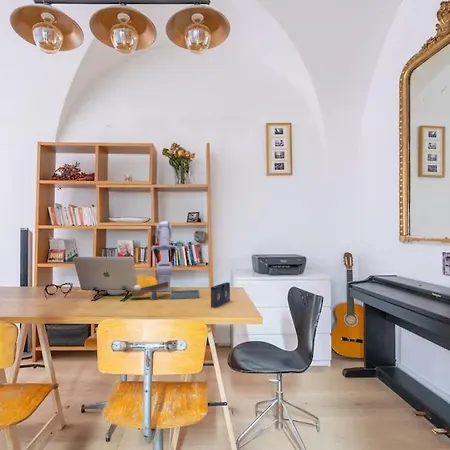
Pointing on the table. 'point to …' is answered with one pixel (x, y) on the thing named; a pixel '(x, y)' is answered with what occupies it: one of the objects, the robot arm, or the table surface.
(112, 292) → the teacup
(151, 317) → the table surface
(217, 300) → the vhs cassette tape
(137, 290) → the ball
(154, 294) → the lever stand
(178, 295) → the bin
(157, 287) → the lever
